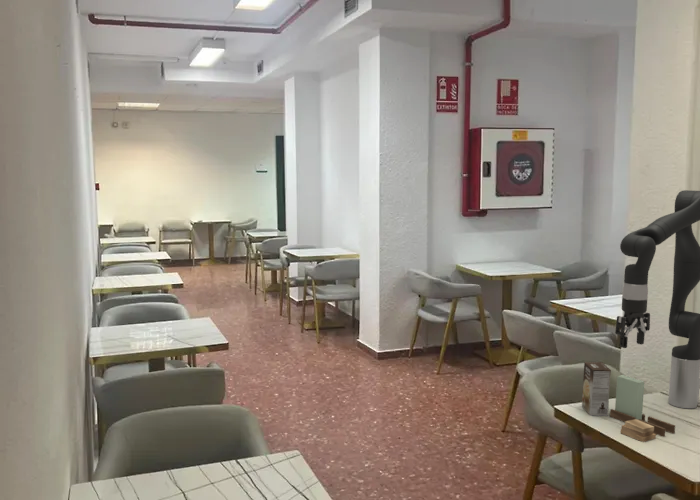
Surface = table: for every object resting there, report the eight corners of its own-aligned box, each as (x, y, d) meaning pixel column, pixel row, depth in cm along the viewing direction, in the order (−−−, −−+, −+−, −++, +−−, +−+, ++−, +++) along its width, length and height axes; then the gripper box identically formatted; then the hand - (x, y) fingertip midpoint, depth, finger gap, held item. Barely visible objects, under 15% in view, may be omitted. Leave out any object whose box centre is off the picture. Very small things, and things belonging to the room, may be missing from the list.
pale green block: (620, 415, 224) (623, 374, 222) (641, 422, 217) (644, 381, 216) (614, 416, 223) (617, 376, 221) (635, 424, 216) (638, 382, 214)
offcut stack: (632, 429, 212) (633, 417, 211) (655, 438, 205) (656, 426, 204) (619, 433, 209) (620, 421, 208) (643, 442, 202) (643, 430, 201)
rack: (620, 413, 226) (621, 406, 225) (674, 433, 209) (675, 425, 209) (609, 416, 223) (610, 409, 222) (663, 436, 206) (663, 429, 206)
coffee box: (580, 406, 232) (583, 361, 230) (599, 406, 232) (602, 361, 230) (589, 415, 223) (592, 369, 221) (609, 416, 223) (611, 369, 221)
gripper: (638, 292, 222) (635, 340, 224) (610, 297, 215) (607, 345, 217) (658, 296, 216) (655, 345, 218) (630, 301, 208) (627, 351, 210)
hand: (631, 345), depth 217 cm, fingers open, 8 cm apart
